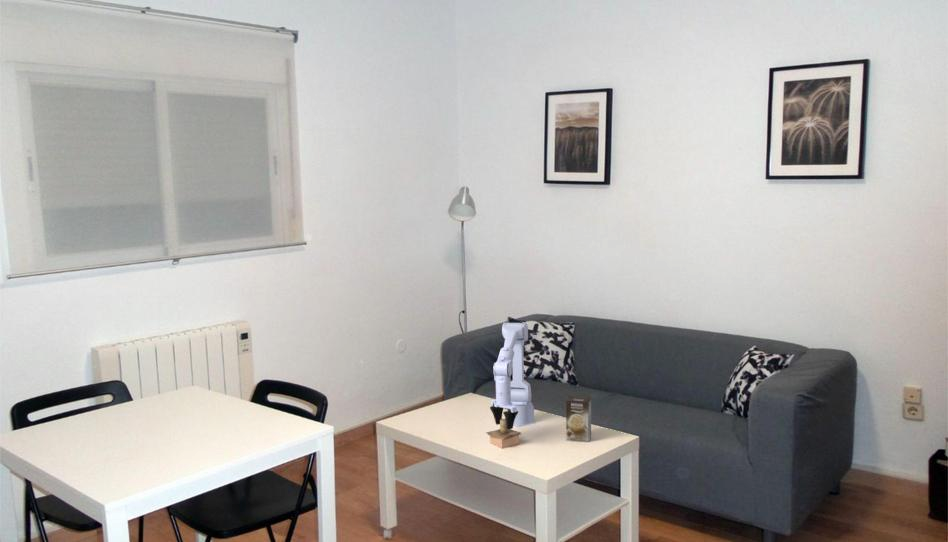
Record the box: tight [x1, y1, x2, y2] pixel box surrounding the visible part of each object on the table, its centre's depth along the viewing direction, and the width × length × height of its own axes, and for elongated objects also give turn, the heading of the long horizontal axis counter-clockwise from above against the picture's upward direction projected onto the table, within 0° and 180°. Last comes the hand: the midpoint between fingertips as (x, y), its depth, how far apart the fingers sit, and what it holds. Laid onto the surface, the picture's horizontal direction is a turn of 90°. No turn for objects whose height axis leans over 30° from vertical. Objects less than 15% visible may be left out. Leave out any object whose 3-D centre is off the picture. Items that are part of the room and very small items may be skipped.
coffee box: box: [565, 396, 592, 443], centre depth 300 cm, size 9×6×16 cm
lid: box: [487, 418, 522, 440], centre depth 296 cm, size 9×9×6 cm
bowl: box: [489, 435, 520, 450], centre depth 296 cm, size 8×8×4 cm
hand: (504, 426), depth 296 cm, fingers open, 7 cm apart
